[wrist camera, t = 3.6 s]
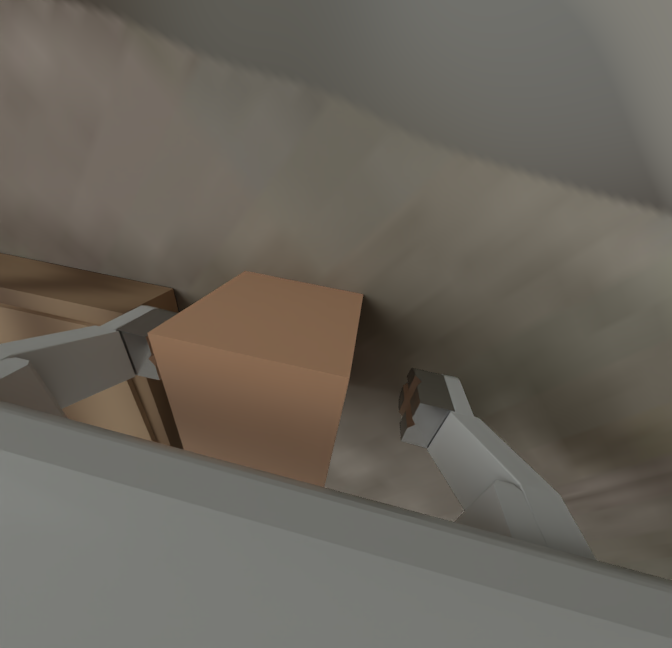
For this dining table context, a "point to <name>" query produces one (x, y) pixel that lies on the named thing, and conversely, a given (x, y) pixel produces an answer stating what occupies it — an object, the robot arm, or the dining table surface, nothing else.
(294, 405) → the terracotta block
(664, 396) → the dining table surface
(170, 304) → the walnut plinth
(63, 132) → the dining table surface
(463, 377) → the dining table surface
